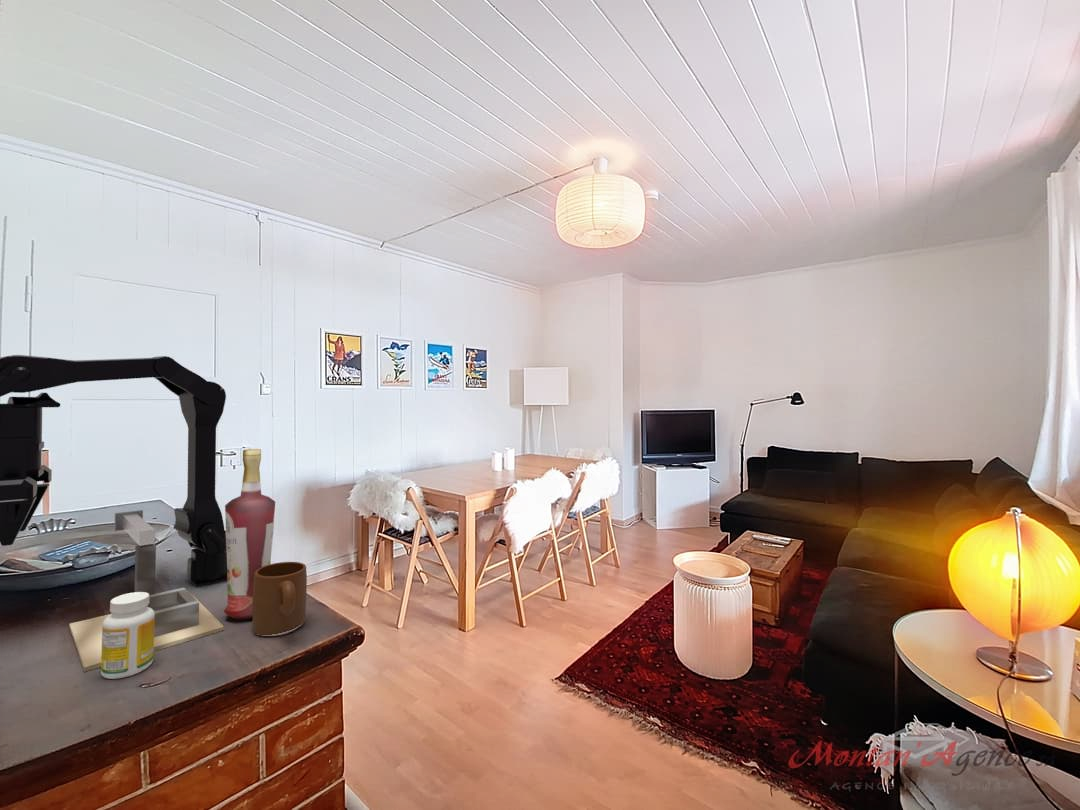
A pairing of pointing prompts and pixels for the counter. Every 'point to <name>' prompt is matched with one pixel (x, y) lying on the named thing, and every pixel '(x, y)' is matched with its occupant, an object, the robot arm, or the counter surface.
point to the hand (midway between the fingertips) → (13, 537)
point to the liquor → (247, 537)
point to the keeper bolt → (135, 527)
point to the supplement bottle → (127, 636)
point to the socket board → (173, 612)
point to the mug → (279, 597)
